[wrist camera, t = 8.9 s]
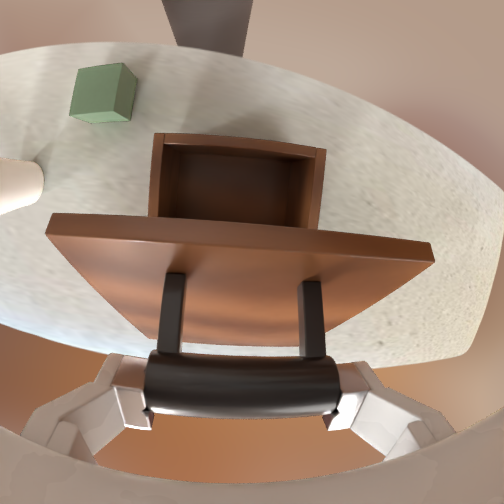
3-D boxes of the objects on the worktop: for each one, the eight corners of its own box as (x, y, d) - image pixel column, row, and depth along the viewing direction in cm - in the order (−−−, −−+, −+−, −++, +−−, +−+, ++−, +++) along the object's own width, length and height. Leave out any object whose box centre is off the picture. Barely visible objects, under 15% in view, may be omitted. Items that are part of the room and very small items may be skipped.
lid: (52, 211, 7) (12, 384, 5) (430, 242, 8) (455, 393, 6) (149, 329, 21) (144, 391, 19) (299, 337, 23) (301, 398, 20)
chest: (174, 145, 26) (154, 132, 18) (297, 156, 28) (326, 149, 19) (167, 291, 30) (149, 331, 22) (280, 298, 32) (298, 339, 23)
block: (97, 82, 23) (78, 69, 18) (137, 78, 24) (123, 62, 19) (90, 123, 25) (68, 115, 20) (130, 120, 25) (113, 111, 20)
